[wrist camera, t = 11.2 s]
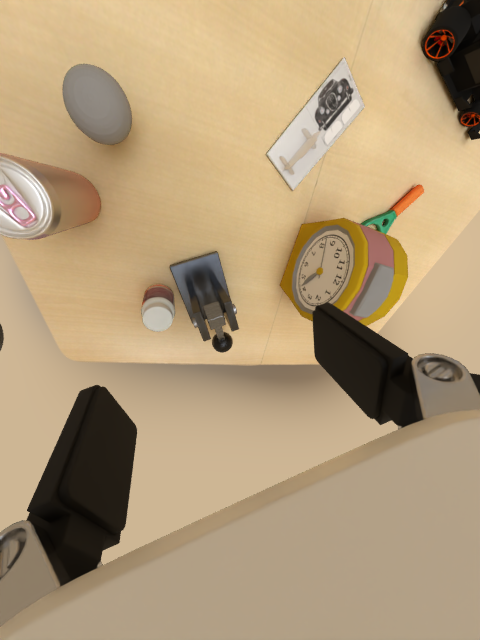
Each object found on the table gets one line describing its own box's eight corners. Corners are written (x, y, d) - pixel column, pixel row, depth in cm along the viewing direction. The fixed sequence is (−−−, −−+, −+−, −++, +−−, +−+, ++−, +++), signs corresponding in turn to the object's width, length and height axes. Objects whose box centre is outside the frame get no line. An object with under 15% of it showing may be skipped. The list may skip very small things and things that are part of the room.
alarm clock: (302, 212, 38) (393, 222, 23) (338, 225, 41) (441, 242, 26) (273, 293, 44) (331, 344, 29) (307, 299, 47) (375, 349, 32)
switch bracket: (231, 307, 43) (253, 344, 32) (191, 320, 42) (200, 363, 31) (216, 251, 37) (236, 272, 27) (169, 265, 36) (170, 294, 26)
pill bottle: (139, 287, 37) (133, 309, 30) (168, 280, 37) (169, 300, 30) (150, 312, 39) (146, 338, 32) (177, 305, 40) (179, 328, 33)
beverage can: (75, 231, 31) (11, 255, 18) (35, 186, 28) (-77, 177, 15) (112, 209, 31) (74, 218, 18) (76, 161, 28) (0, 131, 15)
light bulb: (91, 85, 25) (53, 29, 17) (143, 114, 27) (132, 77, 19) (85, 141, 27) (48, 116, 19) (134, 163, 29) (121, 150, 21)
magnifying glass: (358, 259, 46) (364, 261, 45) (346, 237, 43) (352, 239, 42) (419, 202, 44) (427, 202, 42) (411, 174, 41) (419, 174, 39)
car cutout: (291, 190, 36) (306, 189, 32) (265, 154, 33) (278, 148, 29) (362, 107, 34) (387, 96, 30) (342, 58, 30) (367, 38, 26)
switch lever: (229, 333, 42) (235, 350, 41) (211, 340, 42) (217, 357, 40) (221, 295, 30) (230, 317, 29) (196, 304, 30) (203, 326, 28)
